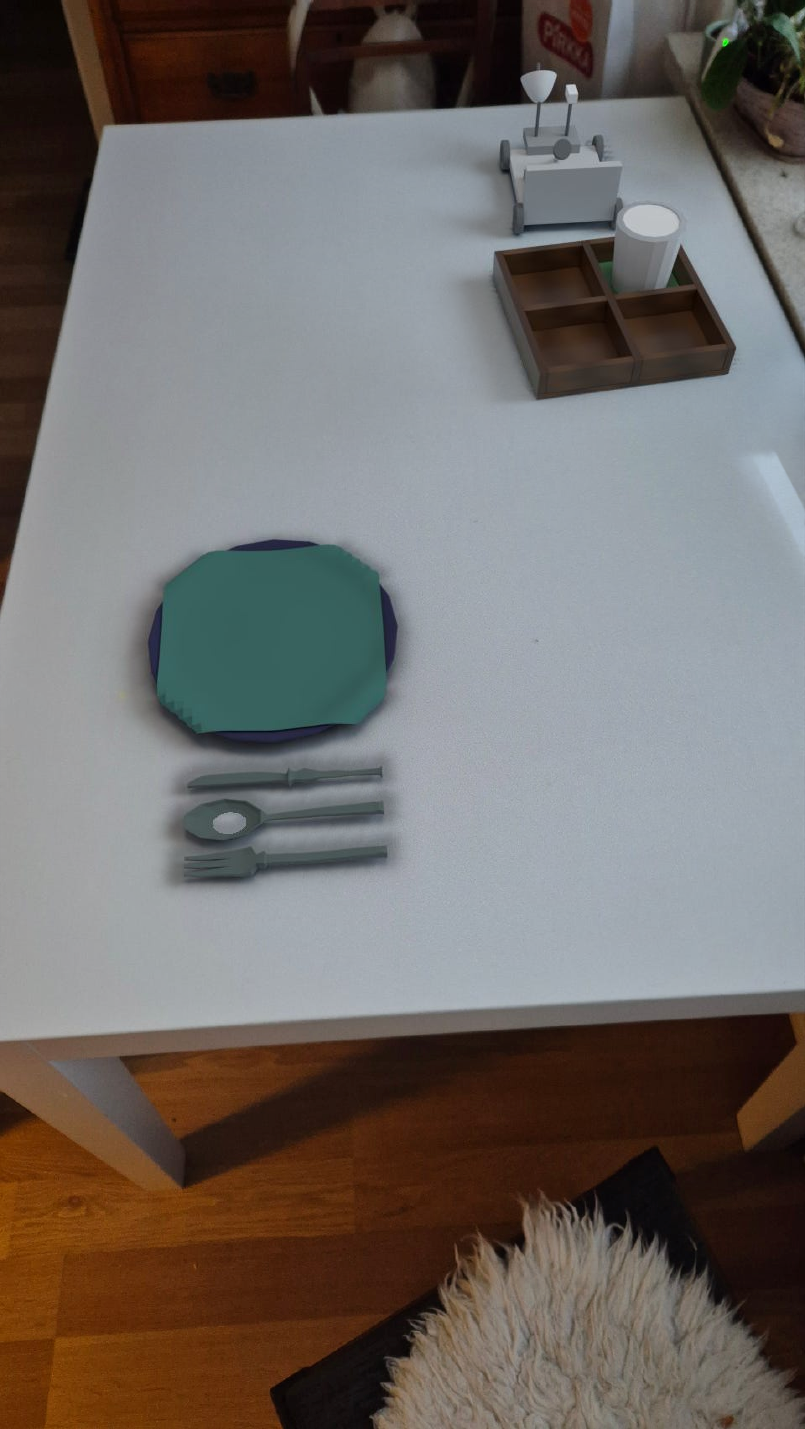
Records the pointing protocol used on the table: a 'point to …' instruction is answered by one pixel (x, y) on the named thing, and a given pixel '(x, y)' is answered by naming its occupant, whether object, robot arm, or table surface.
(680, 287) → the compartment tray
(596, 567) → the table surface
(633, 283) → the white cylinder canister
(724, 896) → the table surface
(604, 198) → the toy rover
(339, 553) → the cutlery set
